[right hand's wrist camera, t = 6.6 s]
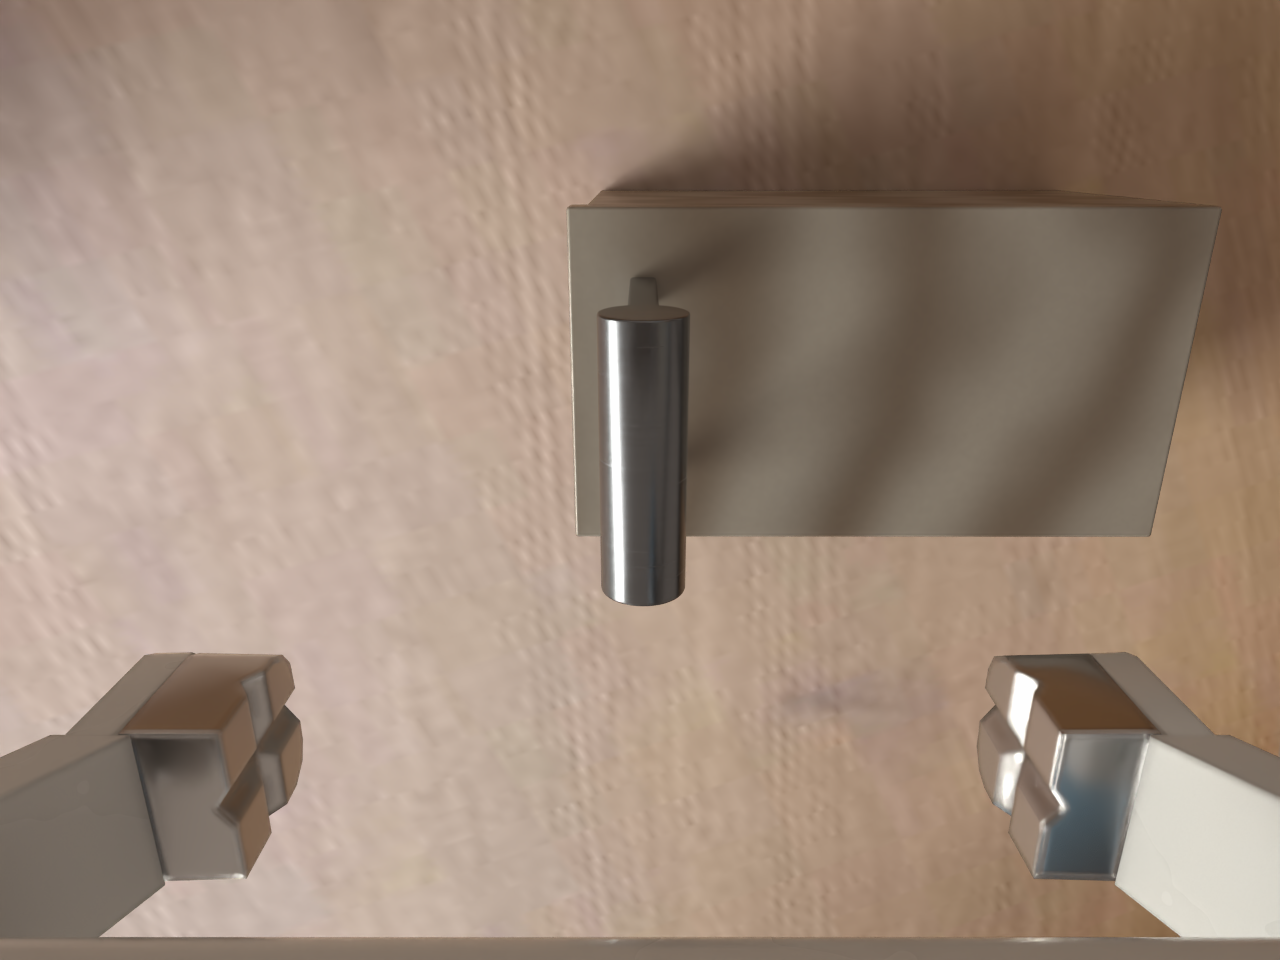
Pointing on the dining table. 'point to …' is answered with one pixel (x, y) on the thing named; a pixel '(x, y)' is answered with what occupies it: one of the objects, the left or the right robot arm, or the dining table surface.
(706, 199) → the chest
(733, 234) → the lid
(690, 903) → the dining table surface
